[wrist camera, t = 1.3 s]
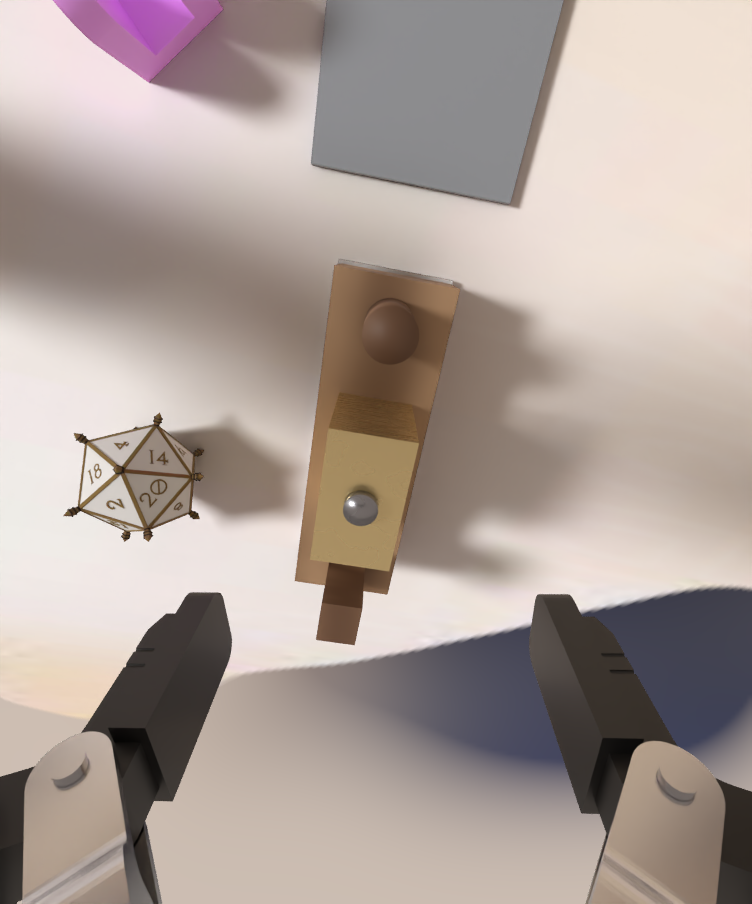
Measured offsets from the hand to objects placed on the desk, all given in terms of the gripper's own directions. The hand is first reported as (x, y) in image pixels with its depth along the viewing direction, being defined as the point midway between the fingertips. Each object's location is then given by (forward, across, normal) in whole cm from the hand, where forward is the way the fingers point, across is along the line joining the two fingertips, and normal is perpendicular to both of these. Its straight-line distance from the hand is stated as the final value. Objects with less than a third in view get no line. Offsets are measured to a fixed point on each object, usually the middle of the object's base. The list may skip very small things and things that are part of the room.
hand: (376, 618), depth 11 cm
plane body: (+22, +2, +4) cm, 23 cm away
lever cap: (+17, +1, +4) cm, 18 cm away
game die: (+22, +17, +6) cm, 29 cm away
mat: (+23, -3, -18) cm, 29 cm away
